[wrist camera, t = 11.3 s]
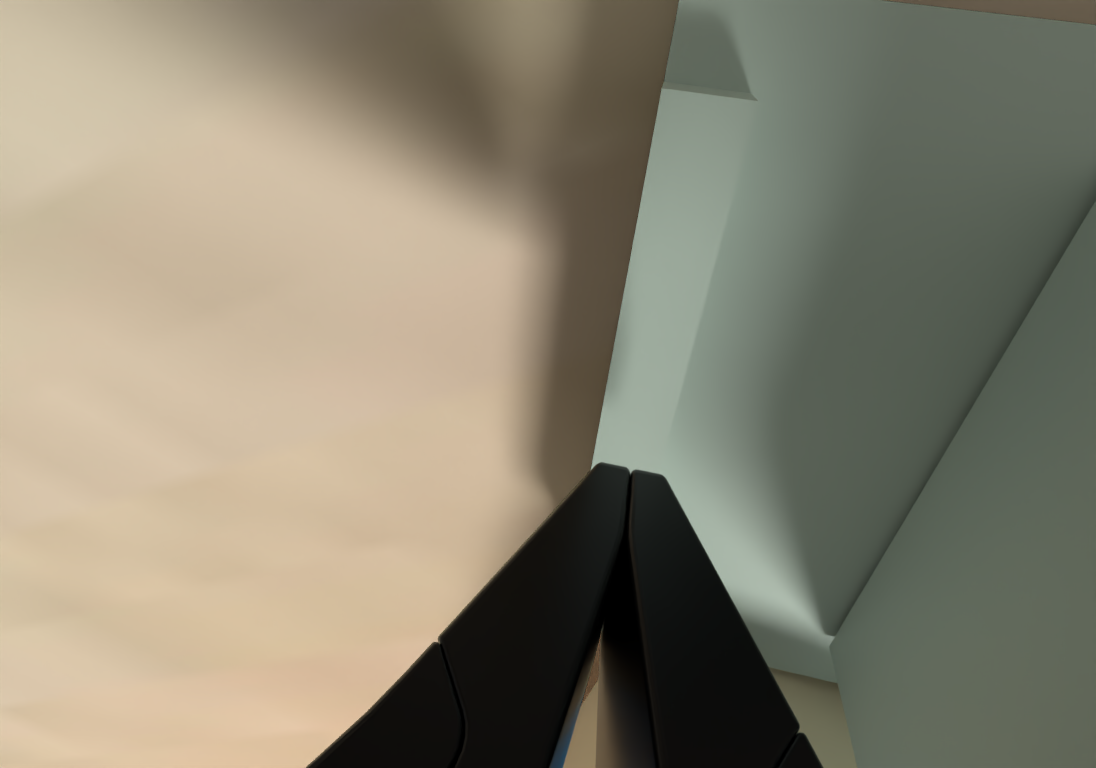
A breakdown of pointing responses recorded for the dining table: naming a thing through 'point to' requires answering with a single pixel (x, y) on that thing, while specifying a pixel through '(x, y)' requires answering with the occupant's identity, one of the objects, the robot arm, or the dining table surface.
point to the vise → (835, 275)
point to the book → (805, 695)
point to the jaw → (994, 568)
